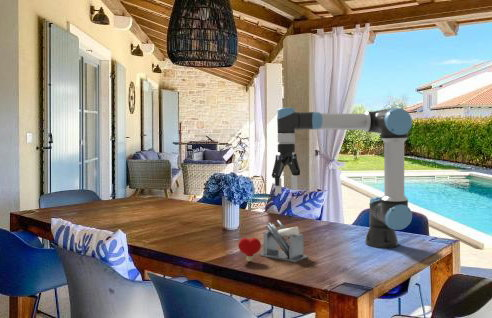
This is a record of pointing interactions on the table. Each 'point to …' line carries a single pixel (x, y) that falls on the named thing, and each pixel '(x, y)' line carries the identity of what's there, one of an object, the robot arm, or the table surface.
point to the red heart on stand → (249, 247)
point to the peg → (288, 232)
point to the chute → (282, 245)
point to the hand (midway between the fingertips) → (286, 191)
